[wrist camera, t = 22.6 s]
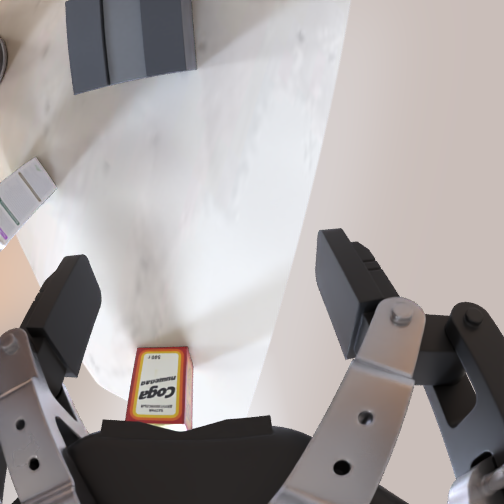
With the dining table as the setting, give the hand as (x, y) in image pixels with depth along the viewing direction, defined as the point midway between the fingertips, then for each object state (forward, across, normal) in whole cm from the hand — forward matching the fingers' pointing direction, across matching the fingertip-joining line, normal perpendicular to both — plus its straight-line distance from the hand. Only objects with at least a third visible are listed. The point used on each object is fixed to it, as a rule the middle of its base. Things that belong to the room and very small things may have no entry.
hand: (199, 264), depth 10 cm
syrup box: (+28, +25, +4) cm, 38 cm away
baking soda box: (+28, +14, +40) cm, 51 cm away
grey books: (+28, +6, -11) cm, 31 cm away
